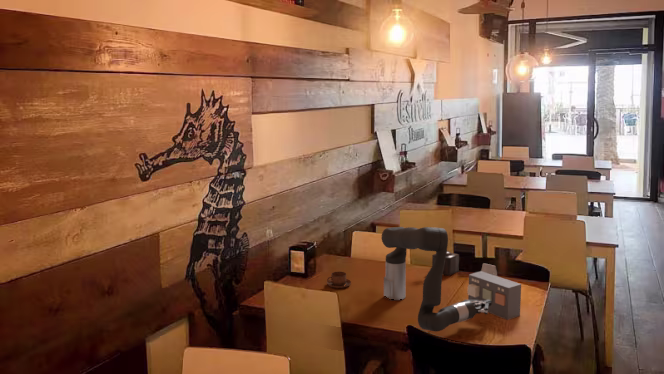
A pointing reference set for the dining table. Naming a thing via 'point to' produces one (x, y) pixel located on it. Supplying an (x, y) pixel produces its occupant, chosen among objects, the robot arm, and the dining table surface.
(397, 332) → the dining table surface
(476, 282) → the console
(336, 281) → the cup and saucer
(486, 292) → the button sage
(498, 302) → the button terracotta
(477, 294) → the button cream
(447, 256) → the dark brown coffee grinder
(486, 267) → the pale pink rectangular block
